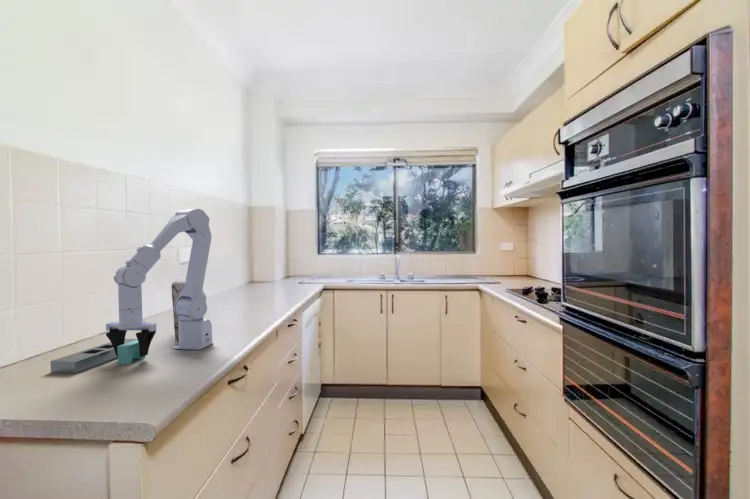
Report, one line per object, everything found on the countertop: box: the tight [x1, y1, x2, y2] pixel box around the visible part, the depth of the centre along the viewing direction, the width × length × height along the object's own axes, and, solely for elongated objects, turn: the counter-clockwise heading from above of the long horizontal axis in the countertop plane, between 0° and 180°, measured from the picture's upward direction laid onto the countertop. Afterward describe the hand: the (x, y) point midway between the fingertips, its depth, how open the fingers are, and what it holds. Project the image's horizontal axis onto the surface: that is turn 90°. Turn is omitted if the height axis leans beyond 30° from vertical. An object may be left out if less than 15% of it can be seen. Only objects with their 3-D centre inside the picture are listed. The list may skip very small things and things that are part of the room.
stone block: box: [171, 278, 186, 340], centre depth 145 cm, size 13×7×20 cm, turn 25°
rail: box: [50, 338, 138, 374], centre depth 116 cm, size 7×24×3 cm, turn 171°
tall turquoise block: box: [117, 340, 146, 365], centre depth 115 cm, size 7×3×5 cm, turn 171°
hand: (131, 355), depth 115 cm, fingers open, 7 cm apart
